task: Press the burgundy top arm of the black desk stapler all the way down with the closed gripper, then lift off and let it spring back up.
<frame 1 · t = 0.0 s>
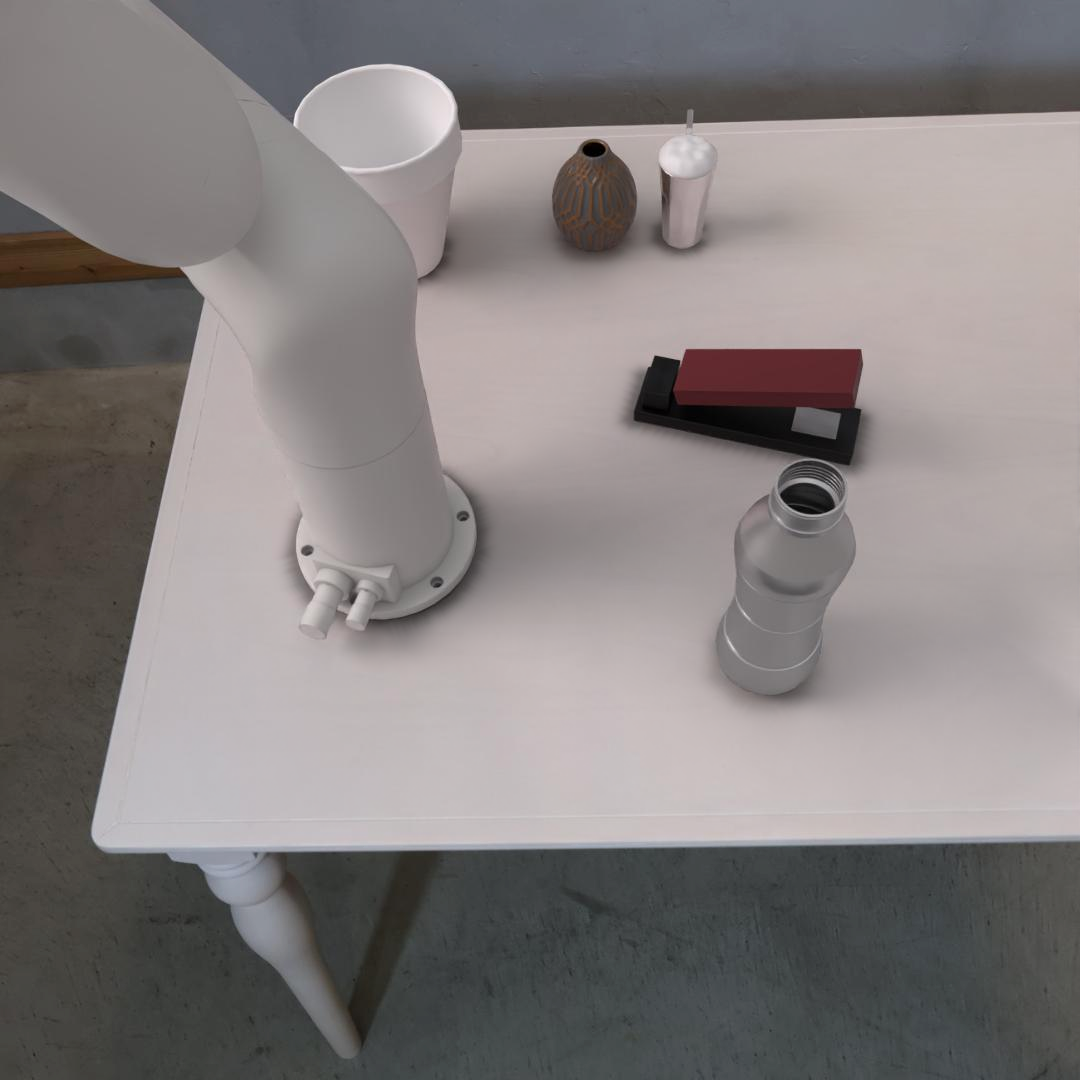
stapler base: (745, 419, 84), on the table
vase: (594, 235, 95), on the table
cup: (403, 254, 95), on the table
milkshake: (681, 233, 94), on the table
plastic bottle: (762, 661, 73), on the table
stapler arm: (766, 377, 79), point 5 cm above the table, hinge at 16.0°
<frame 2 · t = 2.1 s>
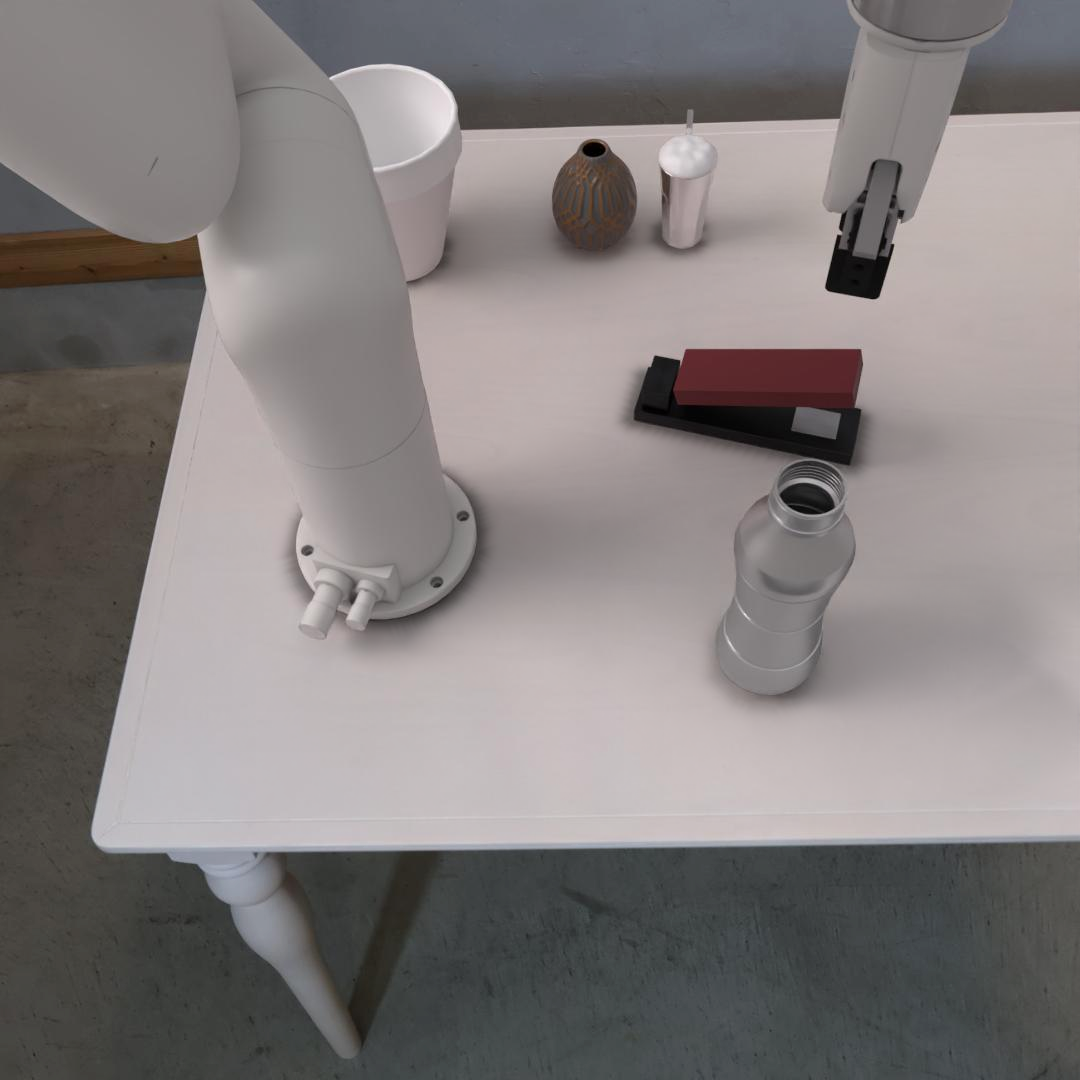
hand: (858, 259, 68), 17 cm above the table, tool pointing down, fingers open, 4 cm apart
nothing on the table moved.
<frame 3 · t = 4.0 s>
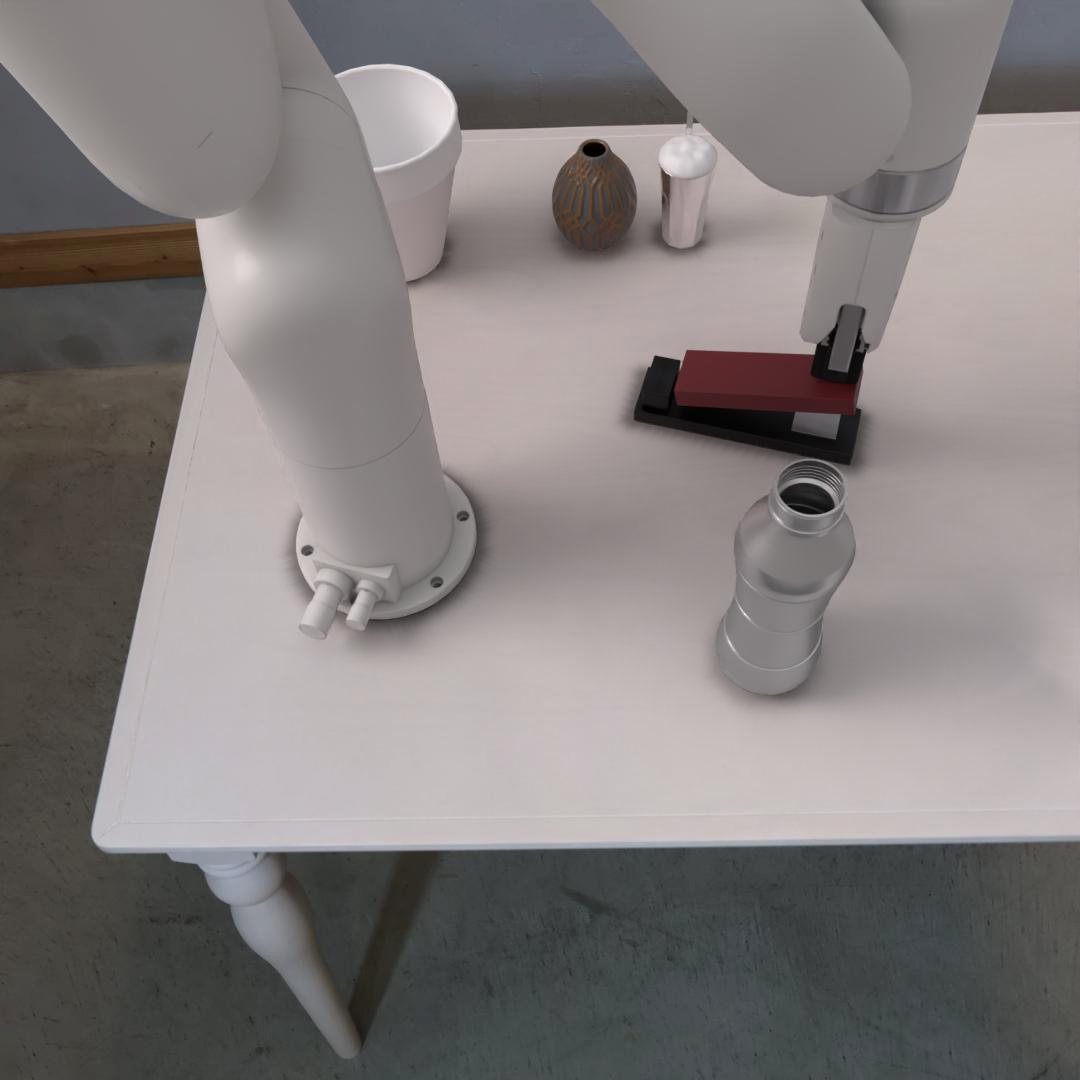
hand: (835, 371, 77), 7 cm above the table, tool pointing down, fingers closed
stapler arm: (767, 381, 79), point 5 cm above the table, hinge at 13.0°, touching gripper
everything else where it was.
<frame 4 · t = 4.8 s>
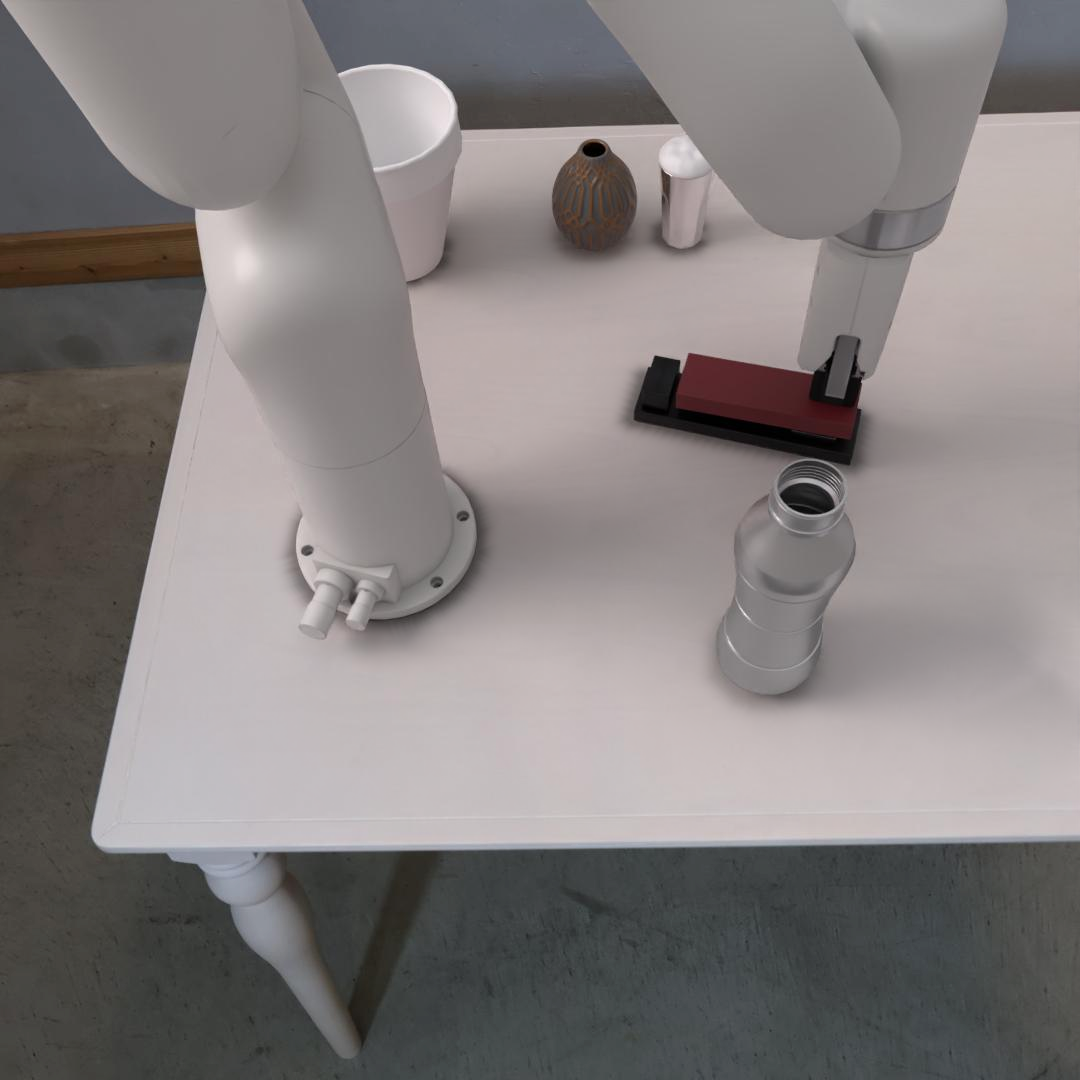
hand: (832, 395, 79), 4 cm above the table, tool pointing down, fingers closed
stapler arm: (767, 395, 81), point 3 cm above the table, hinge at 1.8°, touching gripper
everything else where it was.
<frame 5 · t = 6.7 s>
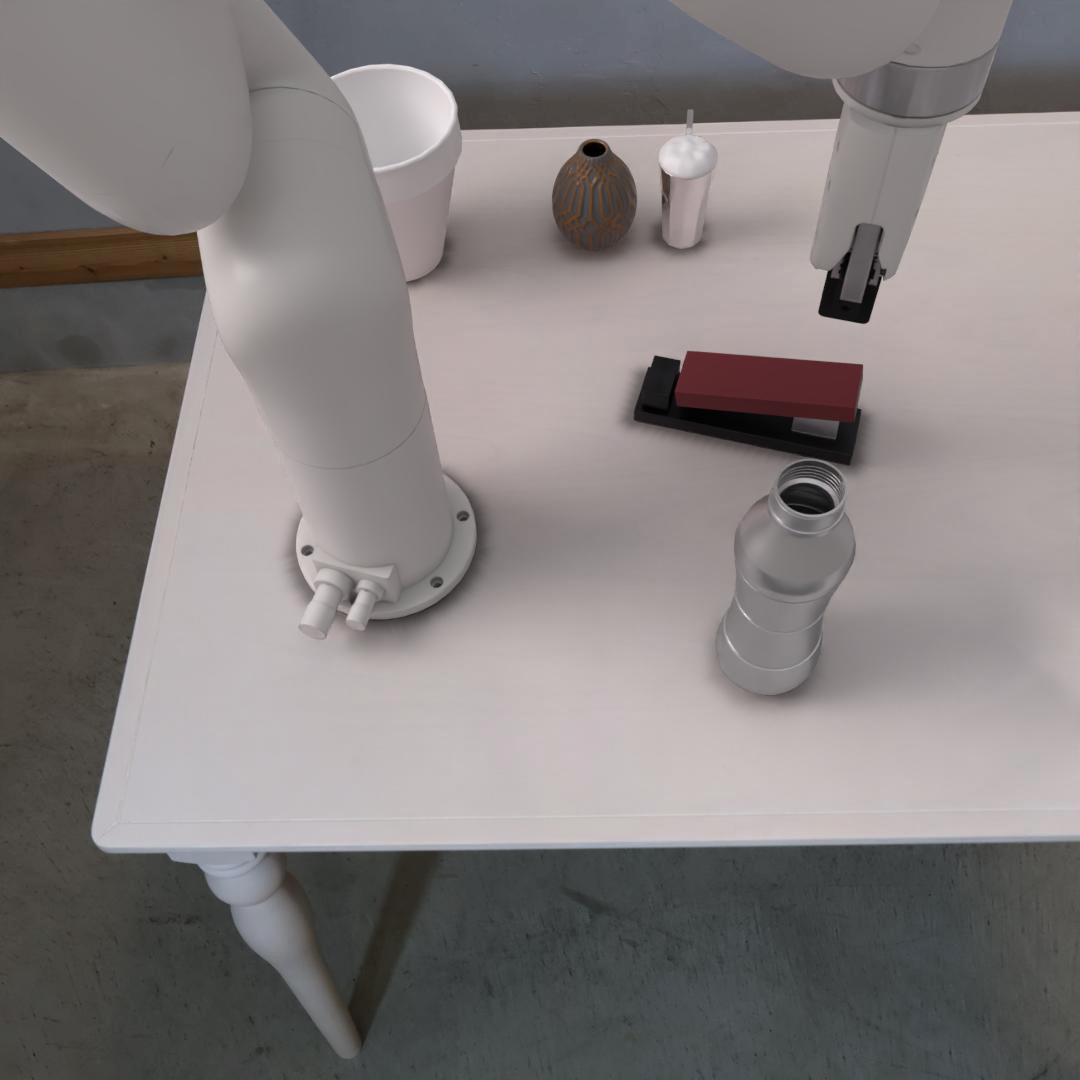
hand: (844, 310, 72), 13 cm above the table, tool pointing down, fingers closed
stapler arm: (768, 385, 80), point 4 cm above the table, hinge at 9.7°
everything else where it was.
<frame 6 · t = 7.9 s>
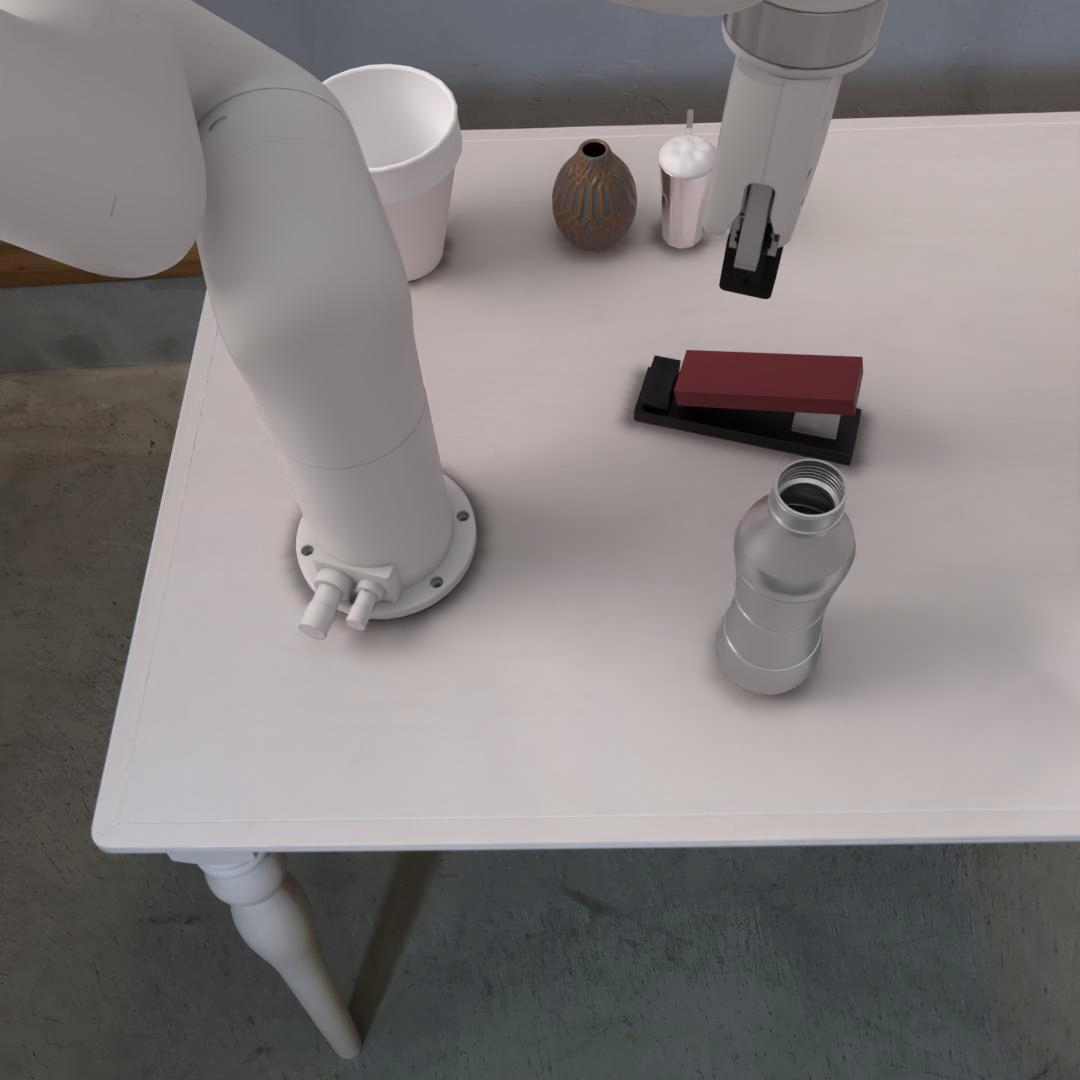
hand: (746, 285, 69), 16 cm above the table, tool pointing down, fingers closed
stapler arm: (767, 381, 79), point 5 cm above the table, hinge at 12.8°
everything else where it was.
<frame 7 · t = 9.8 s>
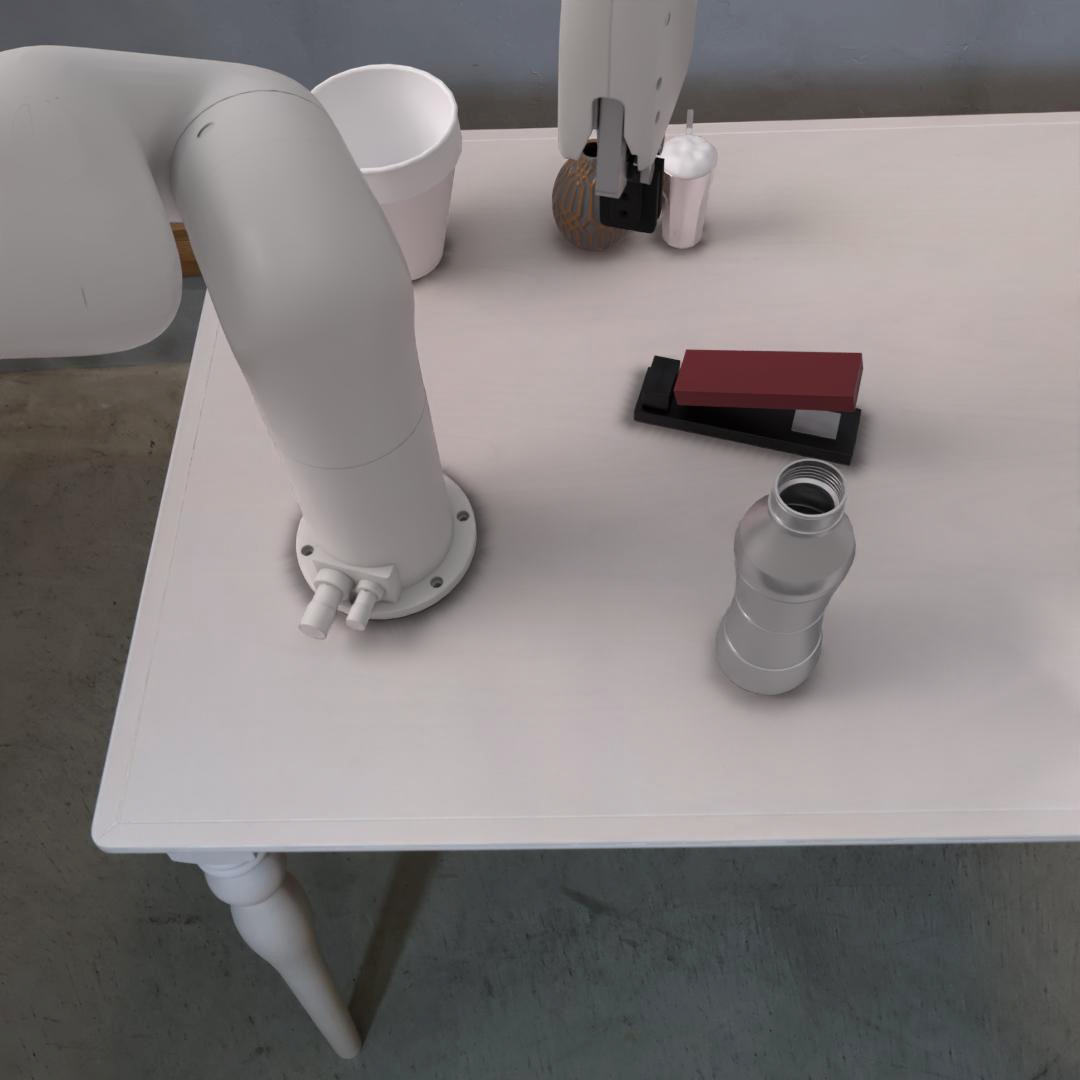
hand: (630, 219, 64), 22 cm above the table, tool pointing down, fingers closed
stapler arm: (767, 379, 79), point 5 cm above the table, hinge at 14.4°
everything else where it was.
at the end: stapler arm reached +1° during the clip, +14° at the end; stapler arm at +14° (first picture: +16°) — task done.
